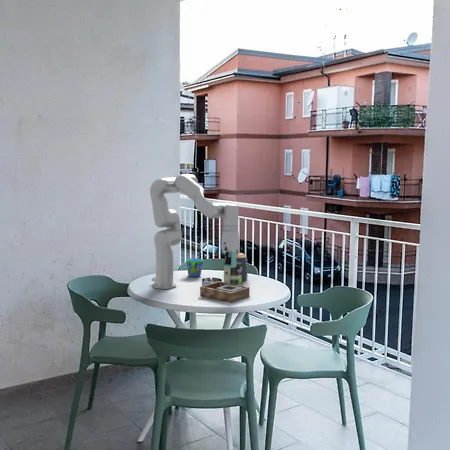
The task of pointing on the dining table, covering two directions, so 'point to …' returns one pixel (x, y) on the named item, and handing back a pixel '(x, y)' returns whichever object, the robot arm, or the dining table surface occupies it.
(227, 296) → the bin
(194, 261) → the snack cup
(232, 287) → the socket
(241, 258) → the canister
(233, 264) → the teal salt shaker
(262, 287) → the dining table surface
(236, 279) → the coffee can
